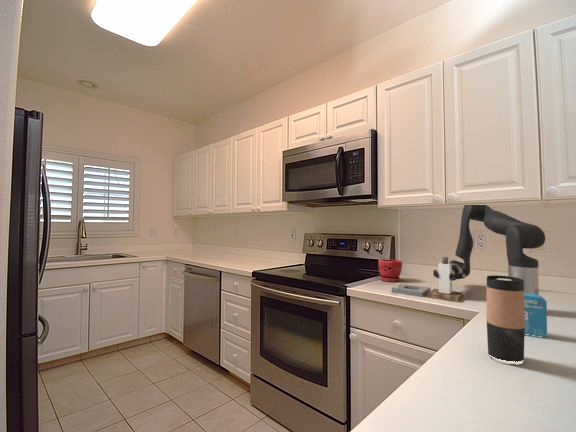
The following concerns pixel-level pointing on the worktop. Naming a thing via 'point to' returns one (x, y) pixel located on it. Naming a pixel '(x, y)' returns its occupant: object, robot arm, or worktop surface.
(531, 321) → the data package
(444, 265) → the plug
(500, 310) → the travel mug
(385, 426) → the worktop surface
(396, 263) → the plant pot
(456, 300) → the brown square frame
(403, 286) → the port plate
